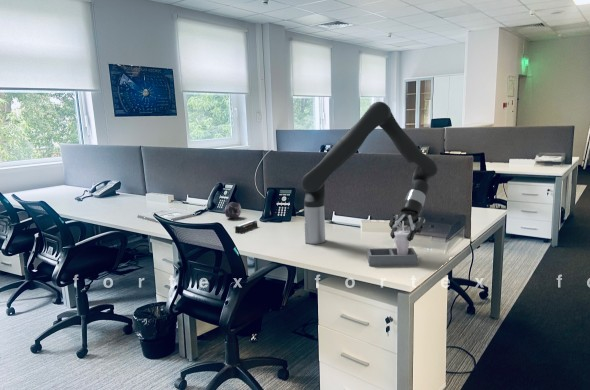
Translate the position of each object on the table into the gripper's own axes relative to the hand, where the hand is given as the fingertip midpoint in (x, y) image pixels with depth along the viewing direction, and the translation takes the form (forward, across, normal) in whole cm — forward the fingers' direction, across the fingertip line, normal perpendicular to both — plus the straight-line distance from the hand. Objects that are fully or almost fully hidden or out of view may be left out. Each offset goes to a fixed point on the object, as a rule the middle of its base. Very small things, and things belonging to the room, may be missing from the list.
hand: (400, 238), depth 164 cm
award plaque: (+6, -160, +8) cm, 161 cm away
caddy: (+7, -3, +6) cm, 10 cm away
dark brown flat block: (+3, -90, +12) cm, 91 cm away
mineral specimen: (-6, -118, +21) cm, 120 cm away
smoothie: (+4, 0, +7) cm, 8 cm away
